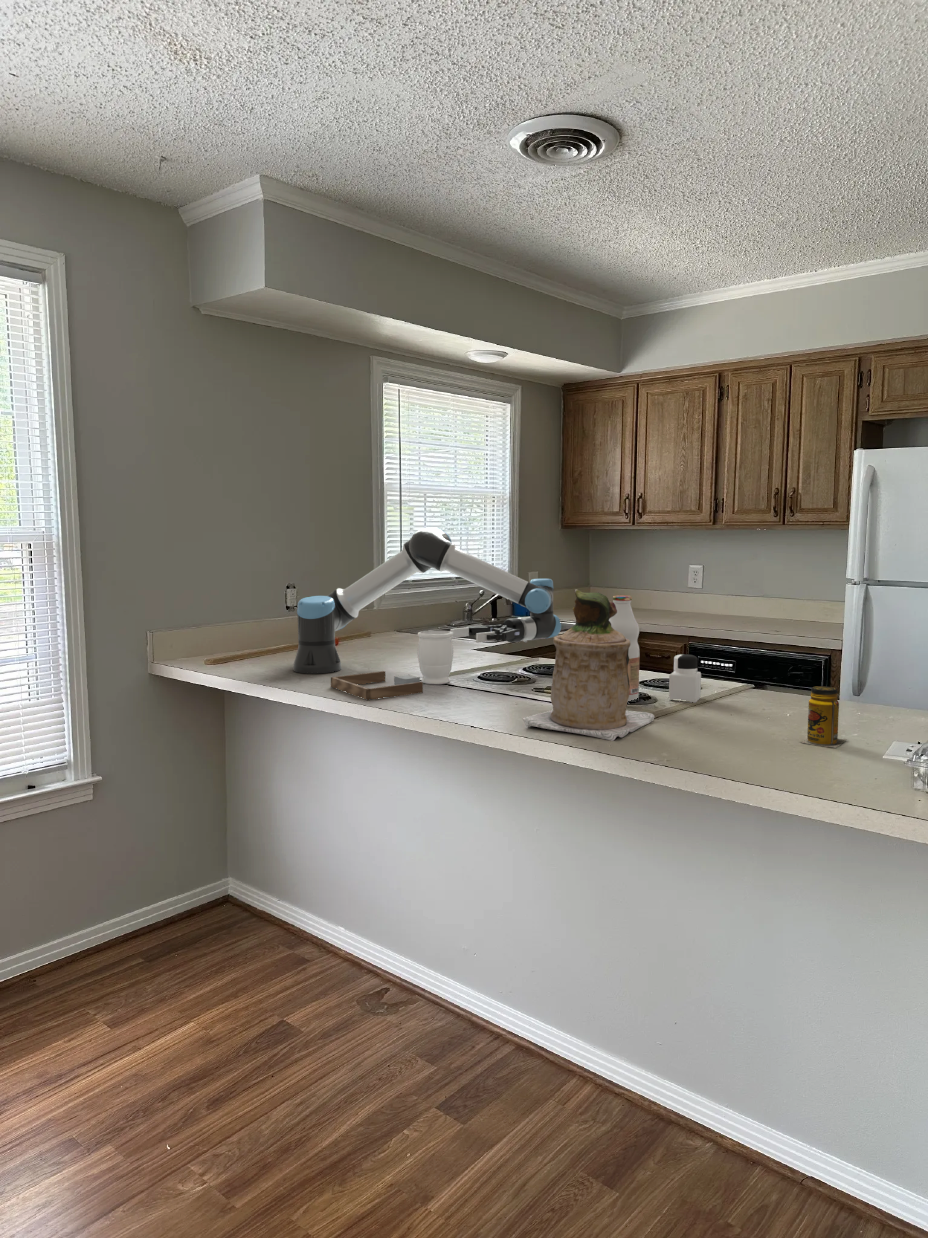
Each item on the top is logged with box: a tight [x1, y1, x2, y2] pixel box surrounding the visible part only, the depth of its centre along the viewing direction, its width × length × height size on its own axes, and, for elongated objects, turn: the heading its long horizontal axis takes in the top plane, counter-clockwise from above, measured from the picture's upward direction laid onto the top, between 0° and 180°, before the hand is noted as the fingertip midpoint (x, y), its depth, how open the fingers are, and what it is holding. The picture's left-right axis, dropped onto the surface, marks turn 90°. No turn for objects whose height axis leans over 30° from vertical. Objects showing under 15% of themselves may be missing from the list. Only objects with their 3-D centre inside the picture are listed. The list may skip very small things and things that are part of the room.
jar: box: [417, 630, 454, 685], centre depth 254 cm, size 11×10×15 cm
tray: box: [330, 670, 424, 701], centre depth 243 cm, size 22×18×3 cm
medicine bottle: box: [668, 653, 702, 704], centre depth 228 cm, size 7×7×12 cm
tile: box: [393, 674, 421, 685], centre depth 249 cm, size 6×5×3 cm
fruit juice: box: [609, 594, 640, 701], centre depth 226 cm, size 9×9×28 cm
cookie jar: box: [522, 588, 656, 741], centre depth 200 cm, size 25×25×32 cm
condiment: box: [800, 685, 849, 749], centre depth 184 cm, size 7×8×12 cm
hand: (463, 635), depth 258 cm, fingers open, 13 cm apart
